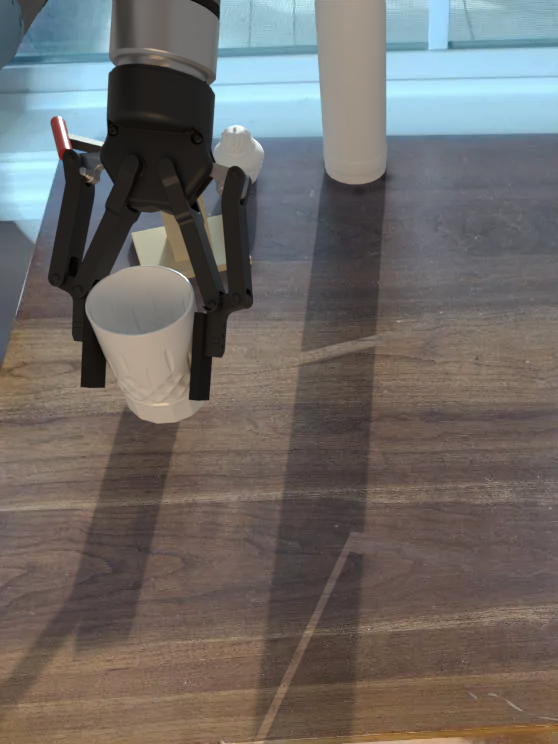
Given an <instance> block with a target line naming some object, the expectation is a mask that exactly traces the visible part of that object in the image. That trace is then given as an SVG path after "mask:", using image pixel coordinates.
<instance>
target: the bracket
mask: <svg viewBox="0 0 558 744" xmlns="http://www.w3.org/2000/svg"><path fill="white" fill-rule="evenodd" d="M198 202H199V206H200V209H201V212H202V215H203V218H204V226H205V230H206V233H207V236H208V239H209V242H210V245H211V249H212V252H213V255H214V258H215V261H216V264H217V267H218V271H219V273H220V272H224V271H227V269H226V256H225V244H224V232H223V220H222V214H218V215H213V216H208V217H207V210H206V206H205V201H204V196H203V193H202V194H201V195H200V197H199V198H198ZM160 214H161V219H162V223H163V226H158V227H154V228H148V229H144V230H139V231H134V232H131V233H130V236H131V240H132V243H133V246H134V249H135V253H136V255H137V259H138V262H139V266H143V265H153V266H161V267H166V268H169V269H172V270H175V271H177V272H179V273H180V274H182V275H183V276H184V277H185V278H187V280H189V279H191V278H196V277H195V274H194V271H193V268H192V265H191V262H190V258H189V255H188V252H187V249H186V246H185V243H184V240H183V237H182V234H181V231H180V227H179V225H178V223H177V221H176V220H175V218H174V215H170V214H167V213H165V212H162V211H160ZM250 265H251V266H252V265H253V260H252V256H251V255H250Z"/></svg>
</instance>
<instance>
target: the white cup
mask: <svg viewBox="0 0 558 744" xmlns="http://www.w3.org/2000/svg"><path fill="white" fill-rule="evenodd" d="M85 309H86V314H87V316H88V319H89V321H90V323H91V326H92V328H93V330H94V333H95V335H96V337H97V340H98V342H99V344H100V347H101V349H102V351H103V354H104V356H105V358H106V364H107V365H108V367H109V369H110V370H111V373H112V376H113V378H114V380H115V382H116V384H117V385H118V386H119V388H120V390H121V393H122V395H123V397H124V400H125V402H126V405H127V407H128V409H129V410H130V411H131V412H132V413H133V414H135V415H136V416H137V417H138V419H140V420H143V421H146V422H150V423H154V424H157V425H159V424H170V423H171V424H173V423H178V422H180V421H183V420H185V419H187V418H190V417H192V416H194V415H195V414H196V413H197V412H198V411H199V410H200V409H201V408H202V407H203V406H204V405H205V404H206V401H207V400H205V401H195V400H189V386H190V371H191V355H192V339H193V324H194V312H198V308H197V302H196V297H195V289H194V287H193V285H192V284H191V282H190V281H189V279H187V278H185V277H184V276H183V275H182V274H180V273H179V272H177V271H175V270H172V269H169V268H166V267H161V266H153V265H143V266H140V265H134V266H129V267H125V268H122V269H119V270H116V271H114V272H112V273H110V275H108V276H106V277H105V278H103V279H102V280H100V281H99V282H98V283H97V284H96V285H95V286H94V287H93V288H92V290H91V291H90V293H89V294H88V296H87V299H86V304H85Z"/></svg>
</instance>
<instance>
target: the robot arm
mask: <svg viewBox="0 0 558 744" xmlns="http://www.w3.org/2000/svg"><path fill="white" fill-rule="evenodd" d="M48 2H49V0H0V71H1V70H2V69H4V67H5V66H6V65H8V64H9V63H10V62H11V60H13V59H14V57H15V56H16V55H17V53H18V51H19V49H20V46H21V44H22V43H23V40H24V38H25V35H26V34H27V32H29V31H28V30H29V29H30V28H31V25H32V24H33V23H34V21H35V19H36V18H37V16H38V15H39V14H40V13H41V11H42V10H43V9H44V8H45V7H46V5H47V4H48ZM221 2H222V0H111V14H110V15H111V16H110V28H109V30H110V32H109V44H108V45H109V46H108V58H109V60H110V62H111V64H112V65H113V66H114V67H113V68H112V69H111V70H110V71H109V72H108V75H107V97H106V99H107V100H106V136H105V140H104V141H103V142H104V143H103V145H102V147H101V149H100V151H97V152H88V153H87V152H77V150H75V149H73V150H72V149H68V150H66V151H65V152H64V153H63V155H62V161H61V162H62V168H63V172H64V173H63V175H64V176H63V177H64V182H65V183H64V189H63V193H62V199H61V205H60V209H59V213H58V214H59V215H58V219H57V226H56V232H55V237H54V240H53V241H54V242H53V247H52V252H51V257H50V263H49V268H48V274H47V280H48V281H47V282H48V283H49V284H50V285H51V286H52V287H55V288H58V289H60V290H61V291H63V292H65V293H67V294H69V295H70V297H71V300H72V316H71V319H72V321H71V326H72V327H71V336H72V339H73V342H77V343H78V342H79V343H81V362H80V363H81V364H80V366H81V367H80V388H85V389H105V388H106V379H107V377H106V376H107V361H106V358H105V356H104V354H103V351H102V349H101V347H100V344H99V342H98V340H97V337H96V335H95V333H94V330H93V328H92V326H91V323H90V321H89V319H88V316H87V314H86V309H85V304H86V299H87V296H88V294H89V293H90V291H91V290H92V288H93V287H94V286H95V285H96V284H97V283H98V282H99V281H100V280H102V279H103V278H105V277H106V276H108V275H110V274H111V272H112V270H113V268H114V266H115V265H116V262H117V259H118V257H119V255H120V252H121V251H122V248H123V247H124V244H125V243H126V240H127V238H128V235H129V234H130V231H131V229H132V228H133V225H134V224H136V223H137V222H138V221H139V218H140V216H141V215H142V213H149V214H153V213H157V212H161V211H162V212H165V213H167V214H170V215H174V218H175V220H176V221H177V223H178V225H179V227H180V231H181V234H182V237H183V240H184V243H185V246H186V249H187V252H188V255H189V258H190V262H191V265H192V268H193V271H194V274H195V277H194V278H195V280H196V284H197V286H198V289H199V292H200V296H201V299H202V302H203V305H201V307H202V310H204V311H205V312H201V311H200V312H199V311H197V312H194V324H193V339H192V355H191V371H190V386H189V400H195V401H205V400H206V401H210V399H211V381H212V368H213V367H212V366H213V358H219V359H221V358H222V359H223V357H224V355H225V352H226V343H227V342H226V341H227V340H226V339H227V329H228V328H227V327H228V318H229V316H230V315H231V314H232V313H235V312H238V311H242V310H249V309H250V308H252V307H253V305H254V292H253V291H254V290H253V280H252V269H251V268H252V265H250V256H251V253H250V242H249V239H250V238H249V229H248V215H247V213H248V212H247V204H248V201H249V196H250V193H251V188H252V186H253V184H252V180H251V177H250V176H249V175H248V174H247V173H246V172H245V171H243V170H242V169H241V168H240V167H238V166H232V167H226V166H223V165H220V164H217V163H216V161H215V159H214V157H213V149H212V147H213V146H212V145H213V139H214V138H213V137H214V123H215V122H214V121H215V109H216V107H215V105H216V93H215V92H214V90H213V88H212V87H211V85H212V84H214V82H216V81H217V72H218V71H217V70H218V59H219V58H218V56H219V43H220V42H219V41H220V28H221V22H220V21H221ZM104 170H105V172H106V173H107V175H108V177H109V179H110V180H111V182H112V184H113V185H112V187H111V190H110V191H109V194H108V196H107V198H106V201H105V204H104V210H105V211H104V212H103V215H102V217H101V219H100V222H99V224H98V226H97V228H96V230H95V232H94V235H93V237H92V239H91V241H90V244H89V245H88V248H87V250H86V244H87V238H88V234H89V228H90V223H91V219H92V218H91V217H92V213H93V208H94V202H95V197H96V185H97V184H98V183H100V181H101V174H102V172H103V171H104ZM213 180H214V181H215V190H216V192H217V193H218V195H220V196H221V199H220V200H221V202H220V203H221V215H222V220H223V232H224V244H225V256H226V269H227V270H226V279H227V291H228V292H227V293H226V290H225V287H224V284H223V280H222V277H221V274H220V272H219V271H218V267H217V264H216V261H215V258H214V255H213V252H212V249H211V245H210V242H209V239H208V236H207V233H206V230H205V226H204V218H203V215H202V212H201V209H200V206H199V202H198V198H199V197H200V195H201V194H202V195H203V193H204V192H205V190H206V189H207V188H208V187H209V185H211V183H212V181H213ZM85 250H86V252H85ZM206 401H205V402H206Z"/></svg>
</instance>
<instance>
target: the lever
mask: <svg viewBox="0 0 558 744" xmlns="http://www.w3.org/2000/svg"><path fill="white" fill-rule="evenodd" d="M49 122H50V128H51V131H52V132H51V133H52V136H53V140H54V144H55V149H56V152H57V156H58V159H59V160H60V161H61V162H63V161H62V155H63V153H64V152H65V151H66V150H68V149H72V150H74V151H79V152H82V153H88V152H97V151H100V149H101V147H102V145H103V143H104V142H105V141H102V140H97V139H93V138H90V137H86V136H81V135H77V134H73V133H70V132H69V131H68V126H67V123H66V119H64V118H63V117H62V116H59V115H55V116H53V117H51V119H50V121H49Z"/></svg>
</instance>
